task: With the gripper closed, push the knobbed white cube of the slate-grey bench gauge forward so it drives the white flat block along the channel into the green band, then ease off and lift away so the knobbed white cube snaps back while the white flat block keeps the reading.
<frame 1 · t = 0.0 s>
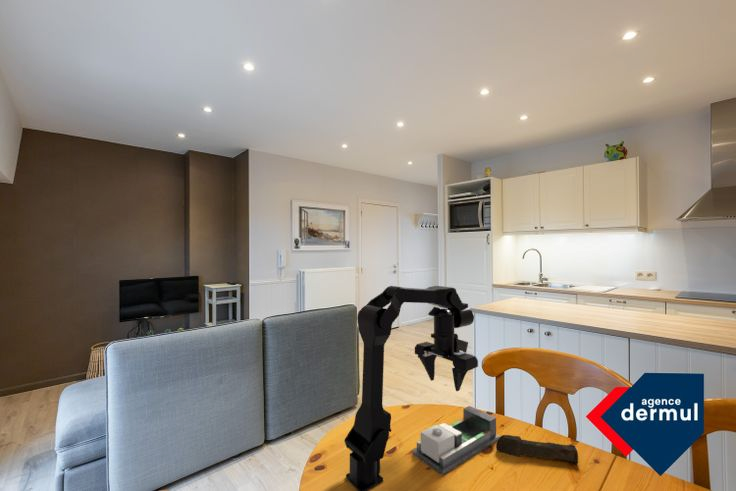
hand: (444, 385, 93), 15 cm above the table, fingers open, 9 cm apart
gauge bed: (457, 446, 88), on the table
hand tool: (536, 459, 83), on the table
knobbed white cube: (437, 441, 83), point 4 cm above the table, slide at 0.0 cm
white flat block: (450, 436, 86), point 4 cm above the table, slide at 0.0 cm
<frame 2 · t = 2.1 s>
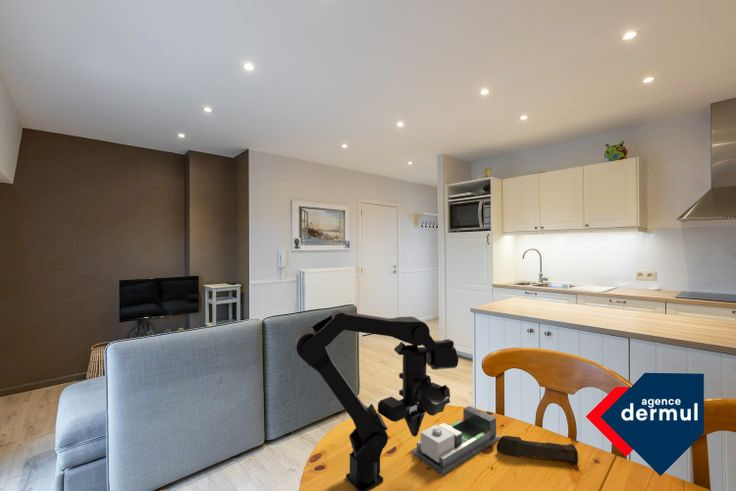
hand: (414, 435, 79), 8 cm above the table, fingers closed
nothing on the table moved.
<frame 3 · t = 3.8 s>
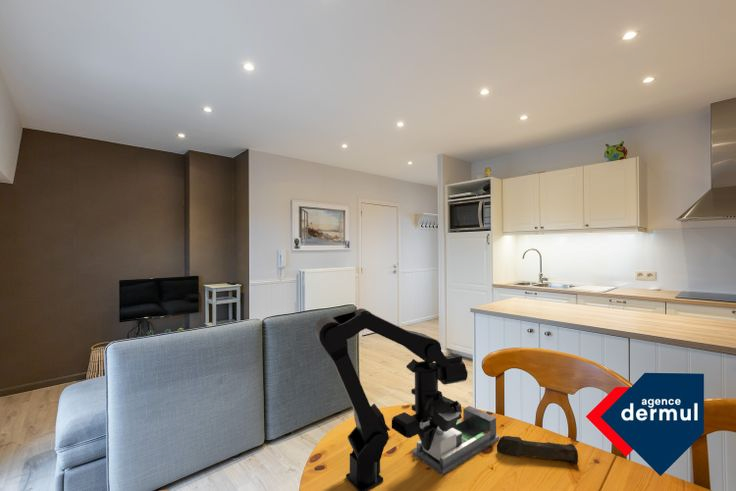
hand: (427, 449, 81), 4 cm above the table, fingers closed
knobbed white cube: (439, 440, 84), point 4 cm above the table, slide at 0.8 cm, touching gripper
everything else where it was.
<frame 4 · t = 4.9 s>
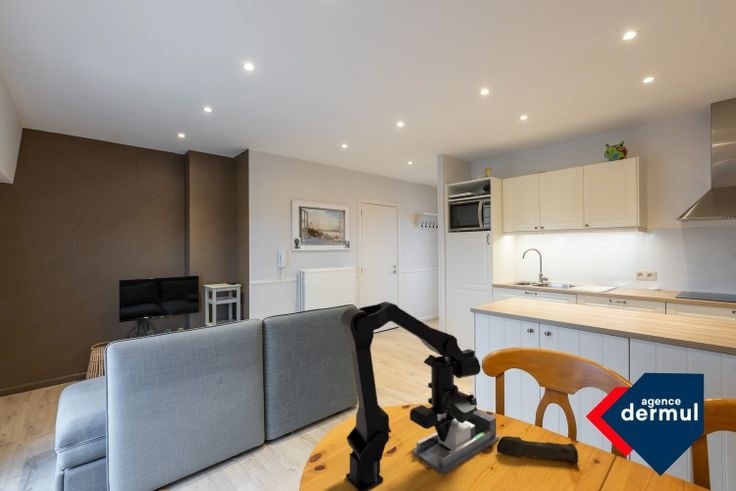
hand: (442, 441, 84), 4 cm above the table, fingers closed
knobbed white cube: (454, 432, 87), point 4 cm above the table, slide at 6.7 cm, touching gripper, white flat block
white flat block: (463, 429, 90), point 4 cm above the table, slide at 5.7 cm, touching knobbed white cube
everything else where it was.
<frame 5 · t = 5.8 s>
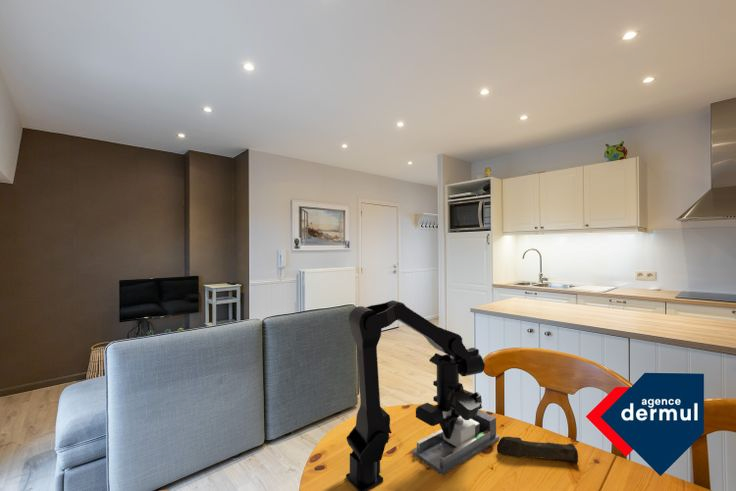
hand: (448, 438, 86), 4 cm above the table, fingers closed
knobbed white cube: (458, 430, 88), point 4 cm above the table, slide at 8.7 cm, touching gripper, white flat block
white flat block: (468, 427, 91), point 4 cm above the table, slide at 7.7 cm, touching knobbed white cube
everything else where it was.
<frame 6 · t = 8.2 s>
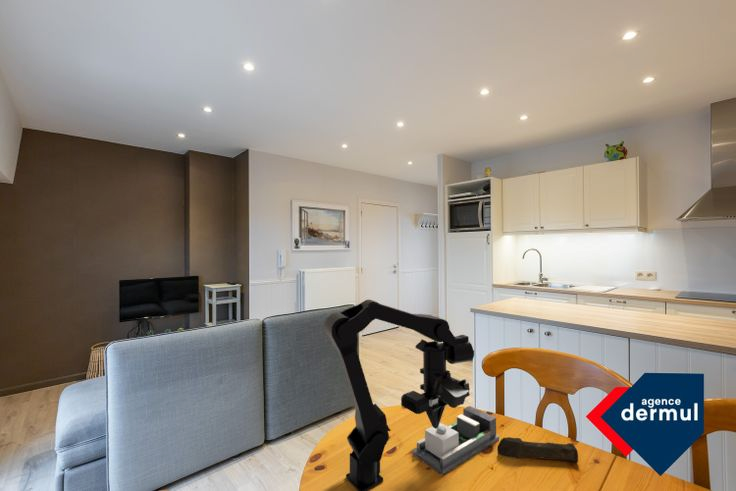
hand: (435, 427, 83), 8 cm above the table, fingers closed
knobbed white cube: (441, 439, 84), point 4 cm above the table, slide at 1.6 cm
white flat block: (468, 427, 91), point 4 cm above the table, slide at 7.7 cm
everything else where it was.
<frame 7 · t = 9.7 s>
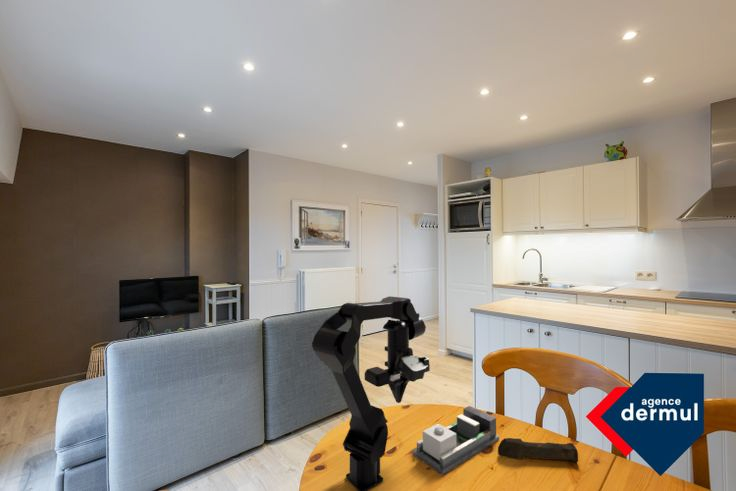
hand: (398, 402, 87), 12 cm above the table, fingers closed
knobbed white cube: (439, 440, 84), point 4 cm above the table, slide at 0.8 cm
everything else where it was.
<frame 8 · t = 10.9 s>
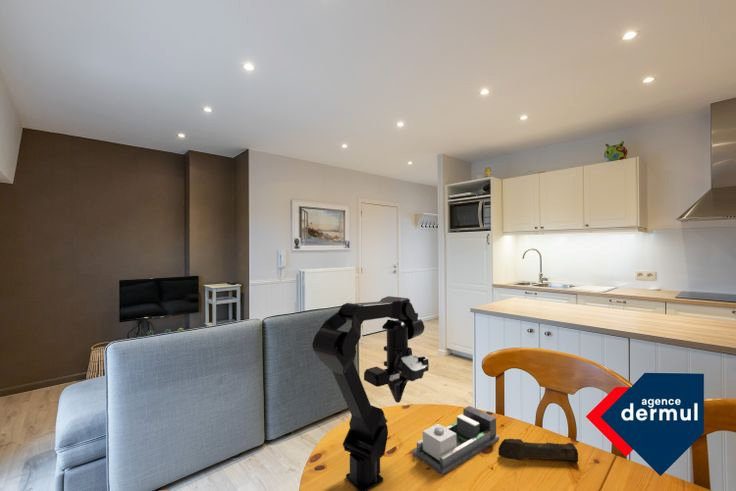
hand: (397, 401, 87), 13 cm above the table, fingers closed
at the end: white flat block slide at 7.7 cm; knobbed white cube slide at 0.8 cm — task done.
